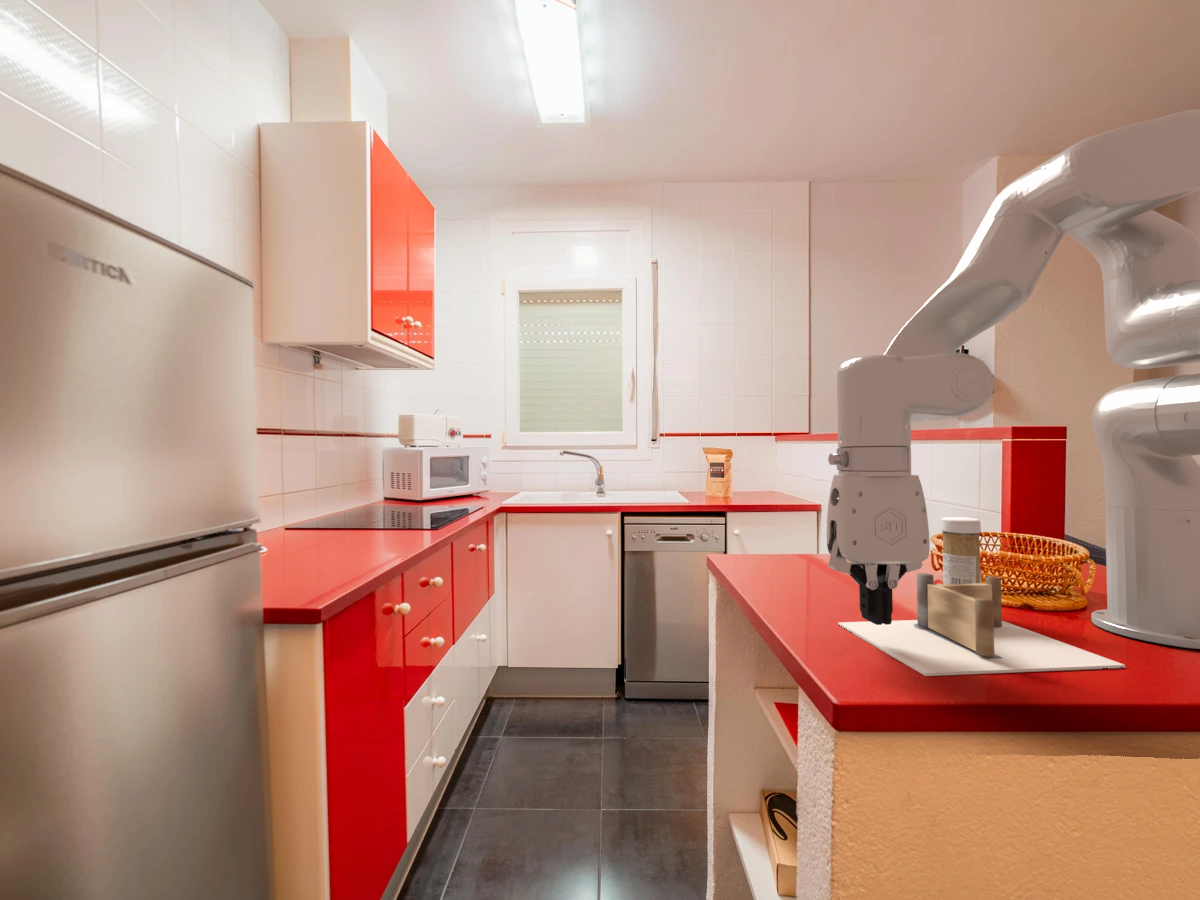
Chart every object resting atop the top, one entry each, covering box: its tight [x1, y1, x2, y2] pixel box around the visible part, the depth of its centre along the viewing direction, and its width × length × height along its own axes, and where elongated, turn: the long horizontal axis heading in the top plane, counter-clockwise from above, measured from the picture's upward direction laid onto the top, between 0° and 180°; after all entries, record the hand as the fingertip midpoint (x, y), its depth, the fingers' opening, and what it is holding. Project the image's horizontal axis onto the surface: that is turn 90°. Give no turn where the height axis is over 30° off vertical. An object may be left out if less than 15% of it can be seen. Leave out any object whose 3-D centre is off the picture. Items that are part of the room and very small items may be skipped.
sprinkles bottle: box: [940, 516, 982, 584], centre depth 72 cm, size 5×5×14 cm
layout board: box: [837, 619, 1126, 677], centre depth 60 cm, size 22×16×1 cm
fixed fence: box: [916, 572, 1003, 629], centre depth 65 cm, size 11×2×7 cm, turn 95°
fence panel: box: [927, 583, 994, 656], centre depth 59 cm, size 9×2×6 cm, turn 1°
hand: (876, 620), depth 59 cm, fingers closed
